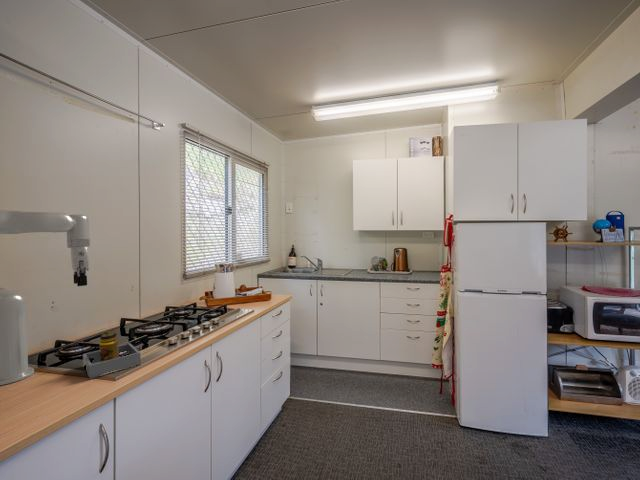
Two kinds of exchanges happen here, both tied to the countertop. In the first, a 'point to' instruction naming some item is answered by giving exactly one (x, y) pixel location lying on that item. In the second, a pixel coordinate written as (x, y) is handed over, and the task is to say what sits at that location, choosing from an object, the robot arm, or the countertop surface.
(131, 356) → the bin
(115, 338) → the condiment
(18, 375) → the robot arm
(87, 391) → the countertop surface
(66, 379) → the countertop surface
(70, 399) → the countertop surface
